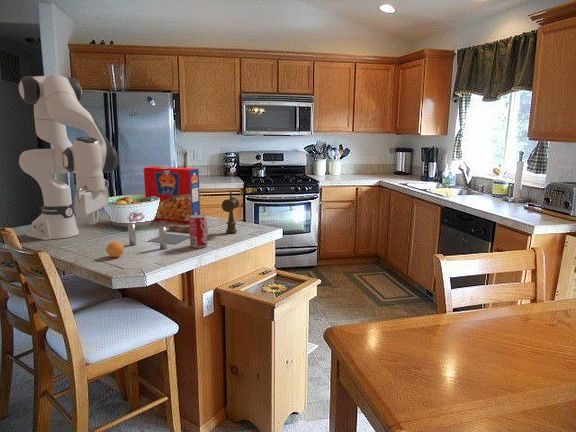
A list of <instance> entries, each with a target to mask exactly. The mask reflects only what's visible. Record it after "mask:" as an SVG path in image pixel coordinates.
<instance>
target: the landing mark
mask: <svg viewBox="0 0 576 432" xmlns="http://www.w3.org/2000/svg"><path fill="white" fill-rule="evenodd" d="M186 240H190V235H187V234H186V235H183V234H176V233H175V234H174V233H166V245H169V244H170V245H177V244H179V243H182V242H184V241H186ZM149 242H151V243H159V244H160V238H159V236H157V237H154V238H151V239H148V243H149Z"/></svg>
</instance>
